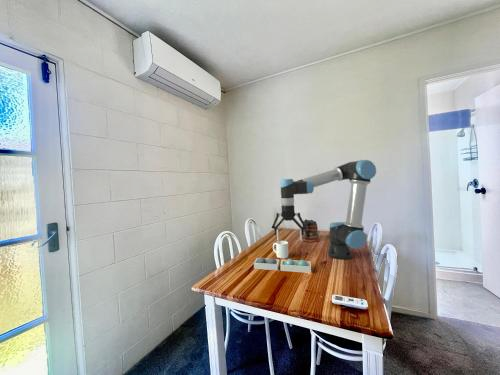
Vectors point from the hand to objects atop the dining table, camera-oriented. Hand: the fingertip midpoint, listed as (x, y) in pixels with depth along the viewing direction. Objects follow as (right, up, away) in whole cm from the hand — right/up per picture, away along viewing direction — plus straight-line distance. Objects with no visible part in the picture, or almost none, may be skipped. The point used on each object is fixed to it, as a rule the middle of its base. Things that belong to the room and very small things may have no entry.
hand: (289, 240), depth 121 cm
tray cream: (+4, -18, 0) cm, 18 cm away
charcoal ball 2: (-10, -17, +3) cm, 20 cm away
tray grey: (-13, -18, +4) cm, 23 cm away
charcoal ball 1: (-16, -17, +5) cm, 24 cm away
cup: (-2, -17, +22) cm, 28 cm away
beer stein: (+29, -15, +56) cm, 65 cm away
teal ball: (0, -17, 0) cm, 17 cm away
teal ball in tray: (+8, -17, -2) cm, 19 cm away
